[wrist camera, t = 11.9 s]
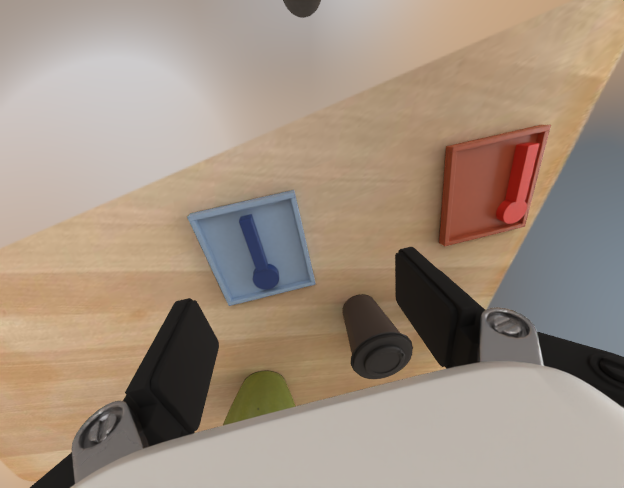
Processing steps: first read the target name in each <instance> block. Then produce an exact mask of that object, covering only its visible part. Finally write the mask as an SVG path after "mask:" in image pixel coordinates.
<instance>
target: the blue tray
mask: <svg viewBox="0 0 624 488" xmlns="http://www.w3.org/2000/svg"><path fill="white" fill-rule="evenodd" d="M249 214H252V216H253V219H254V222H255V225H256V228H257V231H258V234H259V237H260V240H261V243H262V246H263V249H264V252H265V256H266V259H267V262H268V264H271V265H274V266H275V267H276V268H277V269H278V271H279V282H278V284H277V285H276V286H275V287H274V288H272V289H269V290H263V289H260V288H258V287H256V286H255V284H254V283H253V272H254V270H255V265H254V262H253V260H252V257H251V254H250V251H249V249H248V246H247V243H246V240H245V237H244V235H243V232H242V229H241V226H240V224H239V219H240V217H241V216H245V215H249ZM187 218H188V220H189V221H190V224H191V226H192V228H193V231H194V233H195V235H196V237H197V239H198V241H199V243H200V246H201V248H202V250H203V252H204V254H205V256H206V258H207V260H208V263H209V265H210V267H211V269H212V271H213V273H214V275H215V277H216V280H217V282H218V284H219V286H220V288H221V290H222V292H223V295H224V297H225V299H226V301H227V303H228V305H229V306H231V305H235V304H239V303H243V302H247V301H251V300H255V299H259V298H263V297H267V296H271V295H275V294H279V293H283V292H287V291H291V290H295V289H299V288H303V287H307V286H311V285H315V279H314V275H313V270H312V266H311V262H310V257H309V253H308V249H307V244H306V240H305V235H304V231H303V227H302V222H301V218H300V213H299V209H298V205H297V200H296V196H295V192H294V190H291V191H287V192H282V193H278V194H274V195H269V196H265V197H260V198H256V199H252V200H247V201H243V202H239V203H234V204H230V205H225V206H221V207H217V208H212V209H208V210H204V211H199V212H195V213H190V214H189V216H188V217H187Z"/></svg>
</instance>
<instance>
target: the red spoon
mask: <svg viewBox="0 0 624 488" xmlns="http://www.w3.org/2000/svg"><path fill="white" fill-rule="evenodd" d="M538 147H539V143H522V144H518V145H516V148H515V153H514V158H513V163H512V168H511V173H510V178H509V183H508V188H507V193H506V198H505V200H504V201H503V202H502V203H501V204H500V205H499V207H498V208H497V211H496V217H497V219H498V220H500V221H502V222H505V223H507V224H512V223H515V222H517V221H519V220H520V219H521V218H522V217H523V216H524V214H525V213H526V210H527V203H526V202H525V200H526V196H527V192H528V188H529V184H530V180H531V176H532V172H533V168H534V163H535V159H536V155H537V151H538Z"/></svg>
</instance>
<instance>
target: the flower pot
mask: <svg viewBox="0 0 624 488" xmlns="http://www.w3.org/2000/svg"><path fill="white" fill-rule="evenodd" d="M292 407H296V406H295V403H294V401H293V398H292V396H291V393H290V391H289V389H288V387H287V384H286V382H285V380H284V378H283V377H282V376H281V375H280V374H278V373H276V372H272V371H261V372H256V373H254V374H252V375H250V376H249V377H247V378H246V379H245V381H244V382H243V384H242V386H241V388H240V390H239V392H238V394H237V396H236V398H235V400H234V402H233V404H232V406H231V408H230V410H229V412H228V414H227V417H226V419H225V421H224V424H223V425H227V424H231V423H235V422H238V421H242V420H246V419H250V418H254V417H257V416H261V415H265V414H269V413H273V412H276V411H280V410H284V409H288V408H292Z"/></svg>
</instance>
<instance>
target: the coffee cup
mask: <svg viewBox="0 0 624 488" xmlns="http://www.w3.org/2000/svg"><path fill="white" fill-rule="evenodd" d="M343 316H344V320H345V325H346V329H347V334H348V338H349V343H350V347H351V352H352V356H351V366H352V368H353V370H354V371H355V372H356V373H358V374H359V375H360V376H362V377H364V378H368V379H381V378H385V377H388V376H391V375H393V374H395V373H397V372H398V371H400V370H401V369H402V368H404V367H405V366H406V365H407V363H408V362H409V360H410V359H411V356H412V349H413V347H412V342H411V340H410V339H409V338H408V337H407V336H406V335H404V334H401V333H400V332H399V331H398V329H397V328H396V327H395V326H394V324H393V323H392V322H391V321H390V320H389V318H388V317H387V316H386V315H385V313H384V312H383V311H382V310H381V308H380V307H379V306H378V305H377V303H376V302H375V301H374V300H373V298H372V297H370V296H368V295H363V294H362V295H356V296H354V297H352V298H350V299H349V300H348V301H347V302H346V303H345V304H344V307H343Z"/></svg>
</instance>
